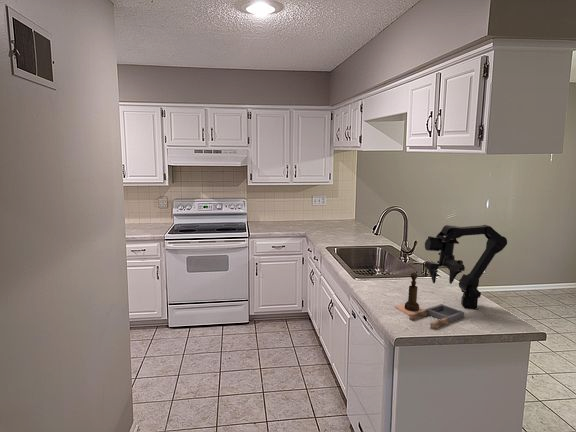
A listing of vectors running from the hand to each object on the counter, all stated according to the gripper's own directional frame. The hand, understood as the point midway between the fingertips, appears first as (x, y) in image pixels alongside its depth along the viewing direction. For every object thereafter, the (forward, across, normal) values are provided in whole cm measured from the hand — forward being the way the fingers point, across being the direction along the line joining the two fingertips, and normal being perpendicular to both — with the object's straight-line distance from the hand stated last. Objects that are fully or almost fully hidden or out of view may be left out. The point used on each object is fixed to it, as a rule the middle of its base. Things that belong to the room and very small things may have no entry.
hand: (442, 283), depth 201 cm
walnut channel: (+14, -14, -13) cm, 23 cm away
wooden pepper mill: (+13, -14, +1) cm, 19 cm away
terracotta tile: (+14, -14, +1) cm, 20 cm away
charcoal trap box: (+13, -2, -8) cm, 16 cm away
